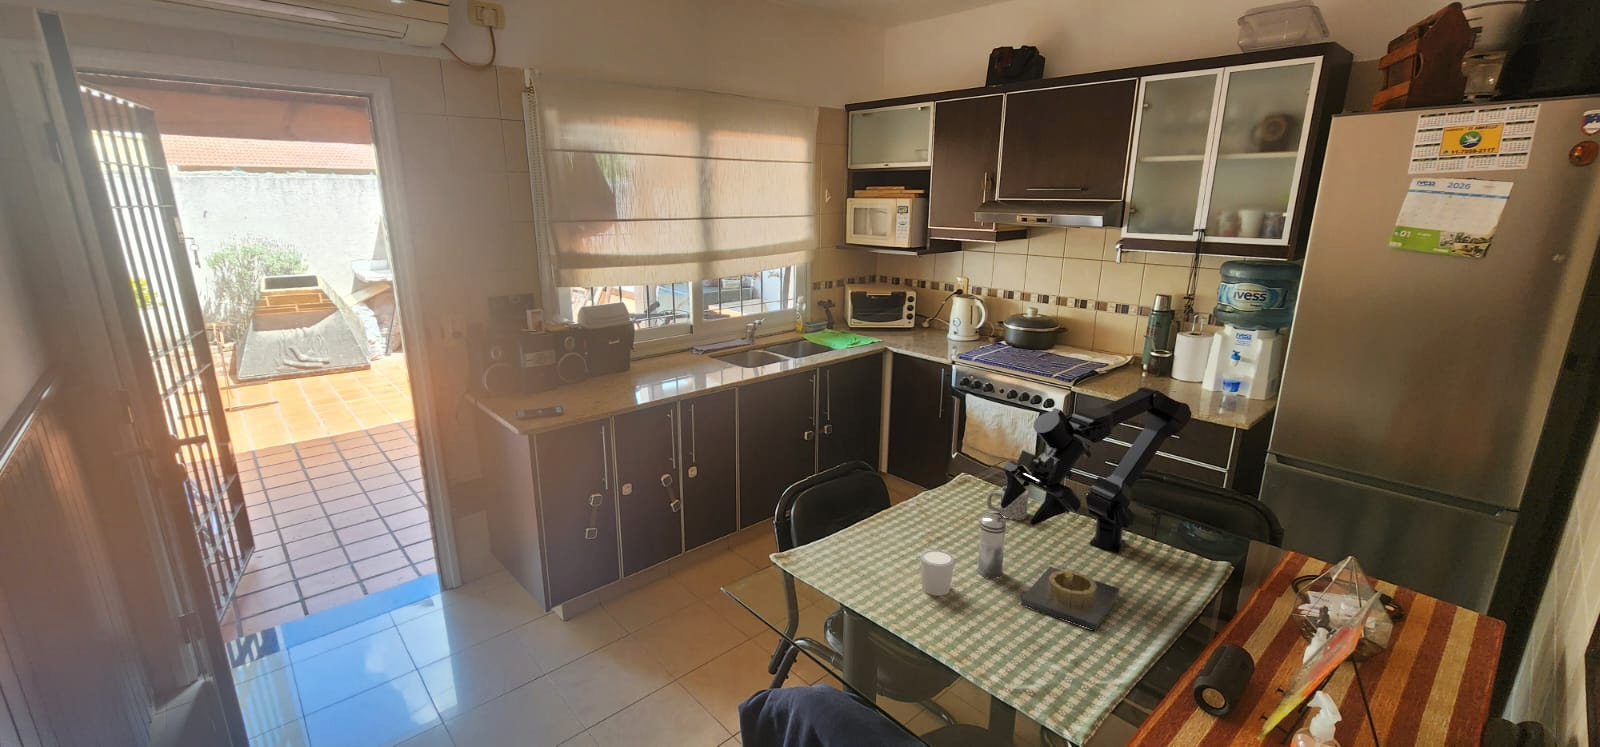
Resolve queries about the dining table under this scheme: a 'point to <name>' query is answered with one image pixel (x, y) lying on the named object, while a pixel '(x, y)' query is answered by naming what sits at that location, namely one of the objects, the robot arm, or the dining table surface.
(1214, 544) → the dining table surface
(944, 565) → the white cylinder
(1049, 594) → the tube holder stand
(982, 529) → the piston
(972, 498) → the dining table surface
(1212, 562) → the dining table surface
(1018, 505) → the mug
